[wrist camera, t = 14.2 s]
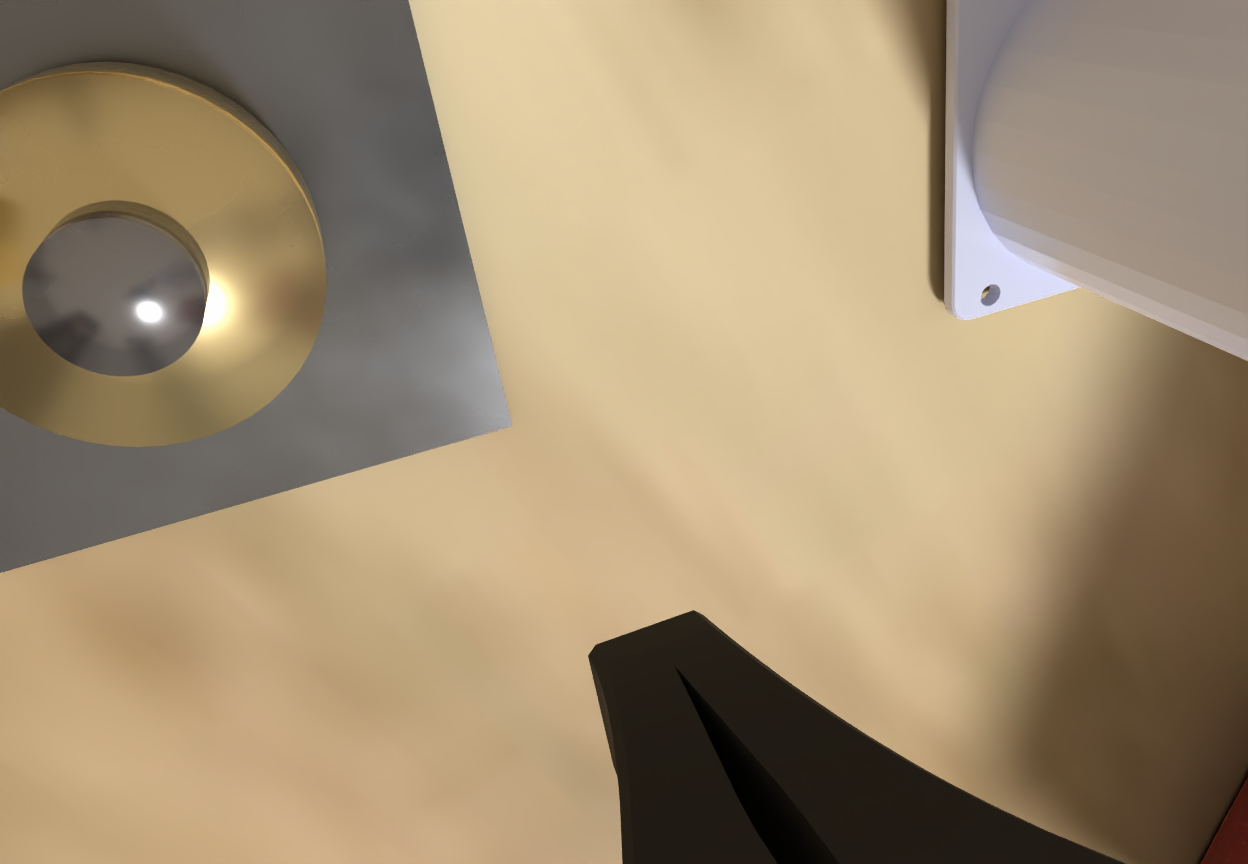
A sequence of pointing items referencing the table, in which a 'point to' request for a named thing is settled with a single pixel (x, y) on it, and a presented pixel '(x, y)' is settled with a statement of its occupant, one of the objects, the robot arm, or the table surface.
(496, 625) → the table surface
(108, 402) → the ring nut
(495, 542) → the table surface
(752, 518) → the table surface
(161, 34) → the plate
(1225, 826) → the plant pot
